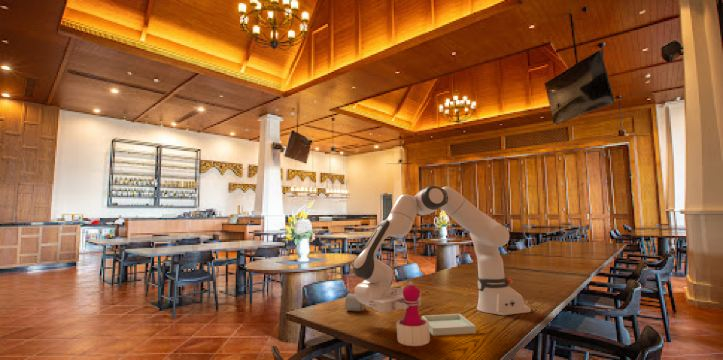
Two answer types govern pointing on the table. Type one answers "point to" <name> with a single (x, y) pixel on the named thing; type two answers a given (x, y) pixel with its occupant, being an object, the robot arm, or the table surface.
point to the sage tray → (449, 324)
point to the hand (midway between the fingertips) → (413, 304)
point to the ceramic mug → (353, 303)
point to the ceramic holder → (413, 333)
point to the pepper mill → (412, 305)
